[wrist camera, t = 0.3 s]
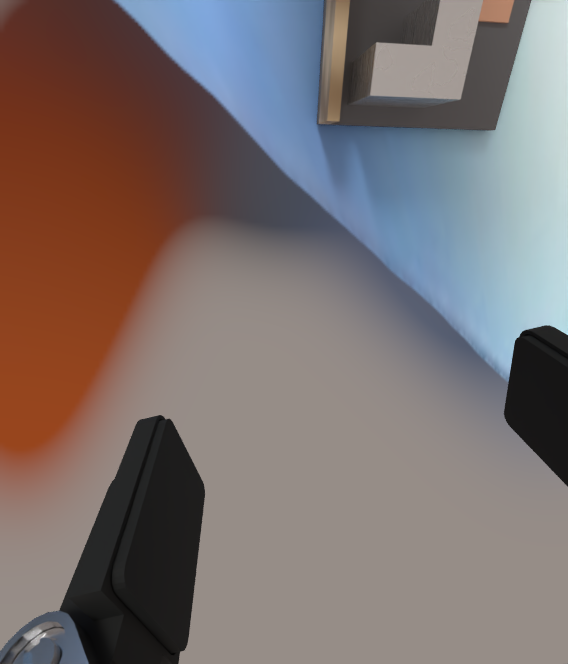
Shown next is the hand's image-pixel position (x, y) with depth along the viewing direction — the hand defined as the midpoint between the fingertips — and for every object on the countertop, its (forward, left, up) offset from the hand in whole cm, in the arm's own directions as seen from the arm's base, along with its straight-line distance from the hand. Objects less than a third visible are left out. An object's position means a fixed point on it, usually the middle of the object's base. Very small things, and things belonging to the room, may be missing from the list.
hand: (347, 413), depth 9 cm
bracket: (-13, +10, -28) cm, 33 cm away
